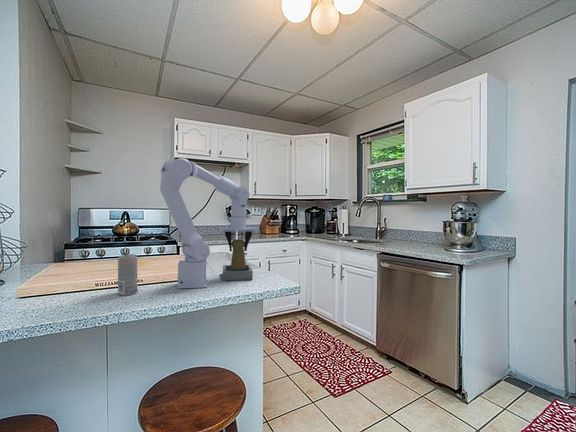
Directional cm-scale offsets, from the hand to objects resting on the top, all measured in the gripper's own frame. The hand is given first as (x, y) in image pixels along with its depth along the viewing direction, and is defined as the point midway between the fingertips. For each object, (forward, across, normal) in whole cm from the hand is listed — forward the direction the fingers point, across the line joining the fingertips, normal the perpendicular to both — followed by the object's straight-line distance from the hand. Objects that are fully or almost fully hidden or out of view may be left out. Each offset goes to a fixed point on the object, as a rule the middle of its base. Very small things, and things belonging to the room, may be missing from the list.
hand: (238, 251), depth 112 cm
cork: (+7, 0, -1) cm, 7 cm away
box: (+10, 0, 0) cm, 10 cm away
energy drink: (+11, -35, -15) cm, 40 cm away
